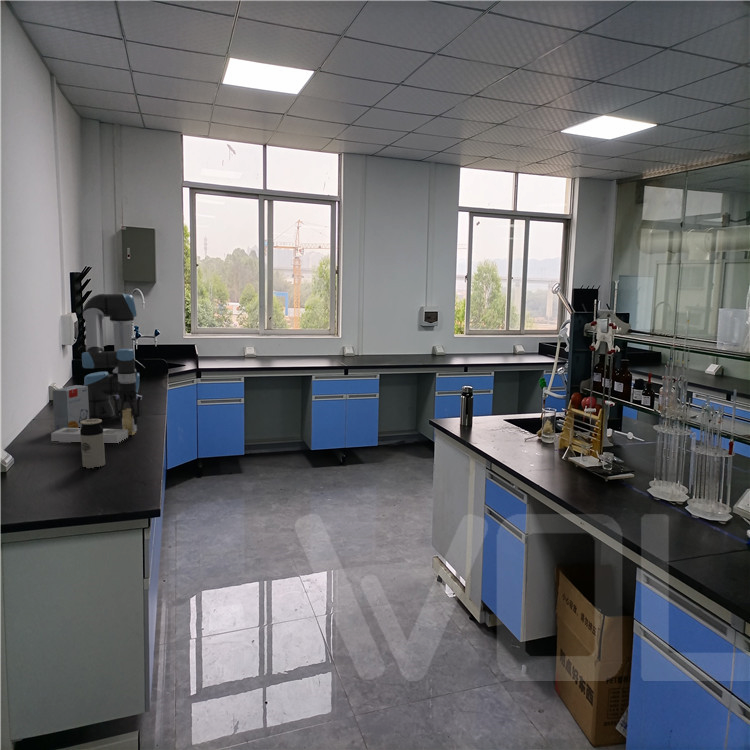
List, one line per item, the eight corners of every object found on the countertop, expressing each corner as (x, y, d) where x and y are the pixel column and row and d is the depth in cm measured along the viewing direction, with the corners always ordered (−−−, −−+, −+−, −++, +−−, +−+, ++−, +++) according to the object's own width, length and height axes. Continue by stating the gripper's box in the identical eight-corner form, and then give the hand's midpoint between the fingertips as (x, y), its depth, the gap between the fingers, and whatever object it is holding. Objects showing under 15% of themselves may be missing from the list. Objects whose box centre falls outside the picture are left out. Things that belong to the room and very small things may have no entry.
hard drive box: (68, 432, 271) (65, 391, 267) (54, 431, 272) (51, 390, 269) (90, 424, 286) (88, 385, 283) (77, 423, 287) (74, 384, 284)
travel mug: (97, 461, 228) (94, 417, 225) (109, 464, 224) (106, 420, 221) (78, 466, 221) (75, 421, 218) (90, 470, 217) (87, 424, 215)
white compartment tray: (64, 436, 264) (64, 427, 263) (128, 437, 262) (127, 429, 262) (51, 441, 254) (50, 433, 253) (117, 443, 253) (116, 435, 252)
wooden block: (127, 433, 271) (126, 408, 269) (136, 433, 270) (134, 408, 268) (123, 435, 267) (122, 410, 265) (132, 435, 266) (130, 410, 265)
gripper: (104, 383, 261) (108, 432, 265) (141, 384, 260) (143, 433, 264) (113, 380, 269) (116, 428, 272) (148, 381, 268) (151, 429, 272)
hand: (129, 430), depth 268 cm, fingers closed on wooden block, 4 cm apart
